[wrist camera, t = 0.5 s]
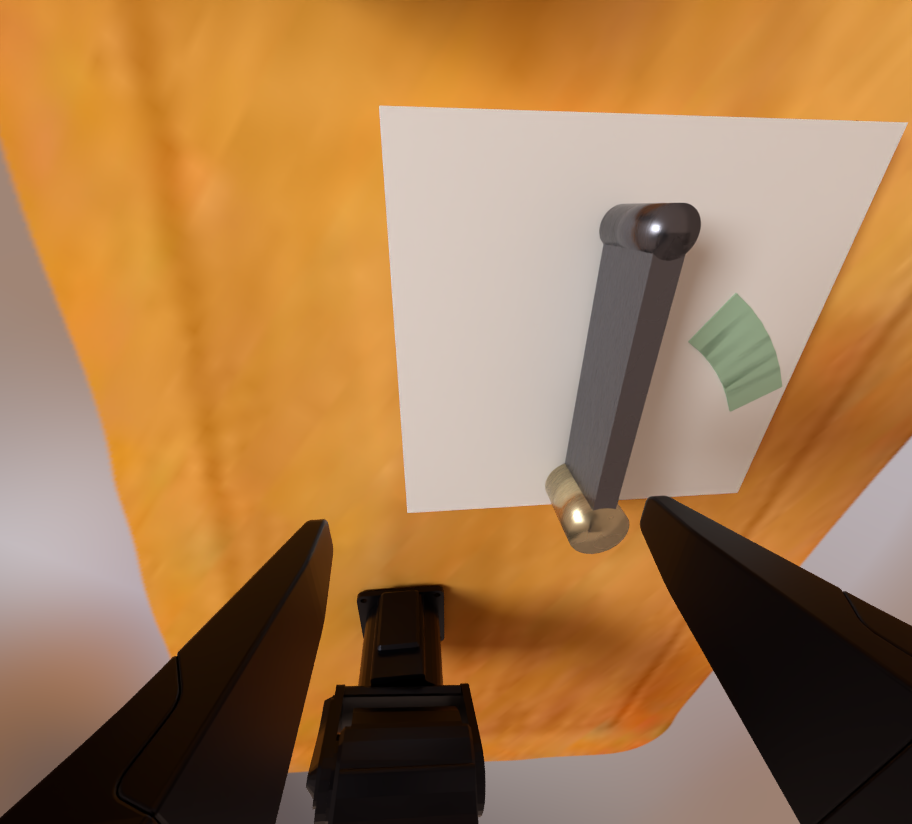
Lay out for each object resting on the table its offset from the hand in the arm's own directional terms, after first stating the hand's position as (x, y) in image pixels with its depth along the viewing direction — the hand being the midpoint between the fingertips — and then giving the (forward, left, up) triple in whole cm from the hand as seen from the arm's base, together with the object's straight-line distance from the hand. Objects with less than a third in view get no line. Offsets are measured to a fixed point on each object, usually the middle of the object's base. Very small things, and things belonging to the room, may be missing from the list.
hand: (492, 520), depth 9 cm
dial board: (0, -8, -13) cm, 15 cm away
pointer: (-1, -7, -11) cm, 13 cm away
